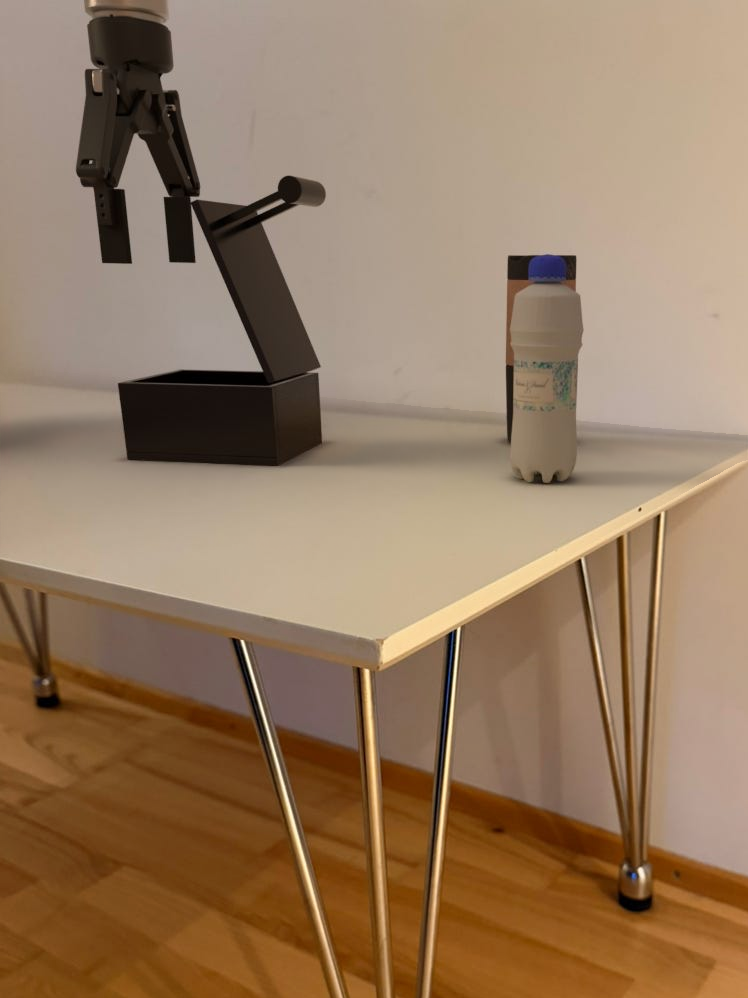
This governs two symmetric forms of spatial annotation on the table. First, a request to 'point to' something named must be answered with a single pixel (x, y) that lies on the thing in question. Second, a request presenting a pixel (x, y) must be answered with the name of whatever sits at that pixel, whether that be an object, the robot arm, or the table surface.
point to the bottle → (545, 372)
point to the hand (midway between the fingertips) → (151, 263)
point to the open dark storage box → (220, 417)
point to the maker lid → (262, 275)
